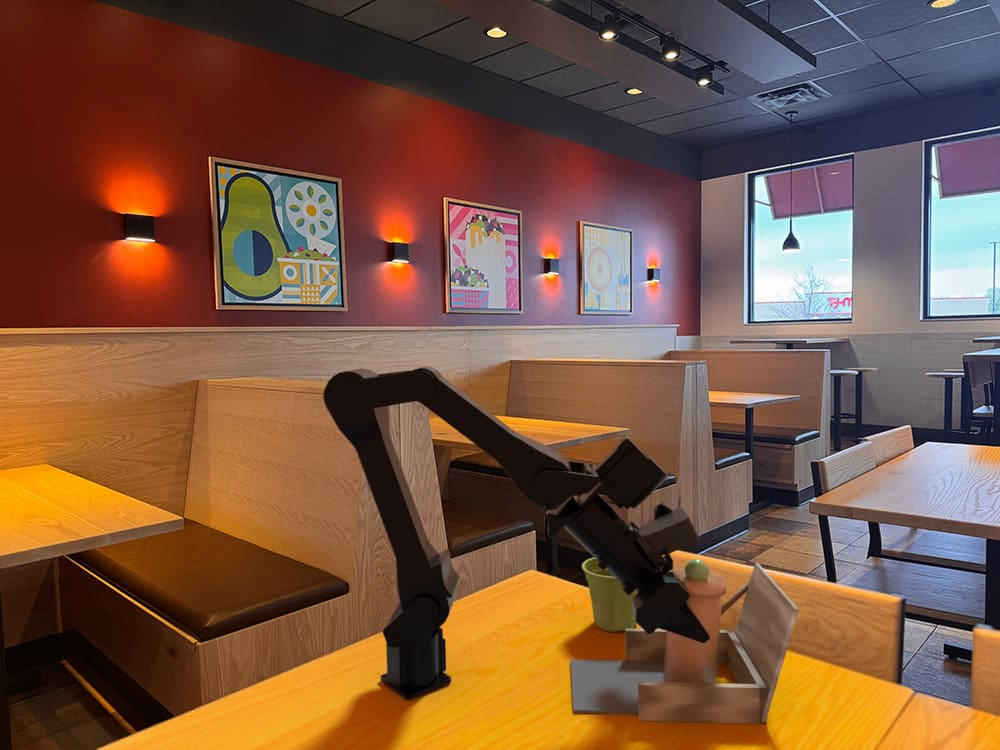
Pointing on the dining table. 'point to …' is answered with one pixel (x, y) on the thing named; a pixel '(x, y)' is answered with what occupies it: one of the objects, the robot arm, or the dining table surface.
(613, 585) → the plant pot
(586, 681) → the mat
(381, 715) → the dining table surface
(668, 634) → the pink lidded canister
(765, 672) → the brown open rectangular box
